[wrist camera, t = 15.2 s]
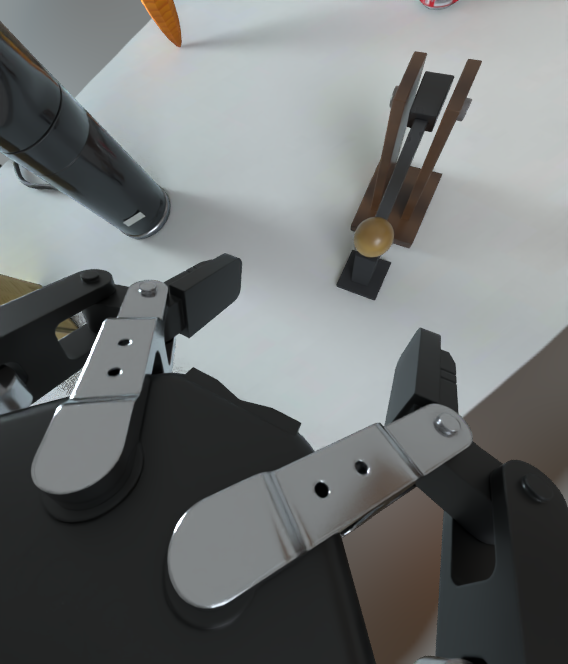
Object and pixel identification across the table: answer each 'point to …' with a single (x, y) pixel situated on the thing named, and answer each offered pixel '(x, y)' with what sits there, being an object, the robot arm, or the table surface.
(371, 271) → the stop post
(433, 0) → the soda can
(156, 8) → the carrot
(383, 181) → the brown wooden upright frame
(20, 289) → the food packaging
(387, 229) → the lever with ball knob
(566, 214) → the table surface
